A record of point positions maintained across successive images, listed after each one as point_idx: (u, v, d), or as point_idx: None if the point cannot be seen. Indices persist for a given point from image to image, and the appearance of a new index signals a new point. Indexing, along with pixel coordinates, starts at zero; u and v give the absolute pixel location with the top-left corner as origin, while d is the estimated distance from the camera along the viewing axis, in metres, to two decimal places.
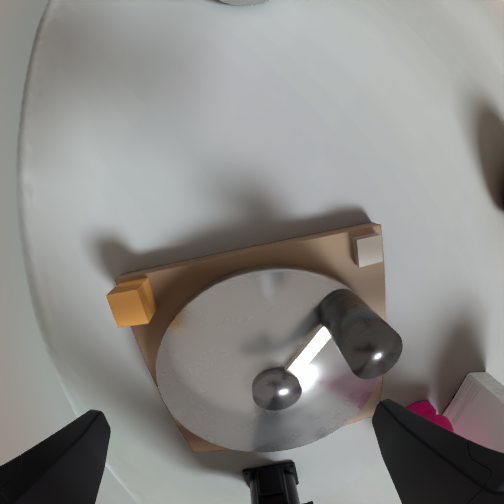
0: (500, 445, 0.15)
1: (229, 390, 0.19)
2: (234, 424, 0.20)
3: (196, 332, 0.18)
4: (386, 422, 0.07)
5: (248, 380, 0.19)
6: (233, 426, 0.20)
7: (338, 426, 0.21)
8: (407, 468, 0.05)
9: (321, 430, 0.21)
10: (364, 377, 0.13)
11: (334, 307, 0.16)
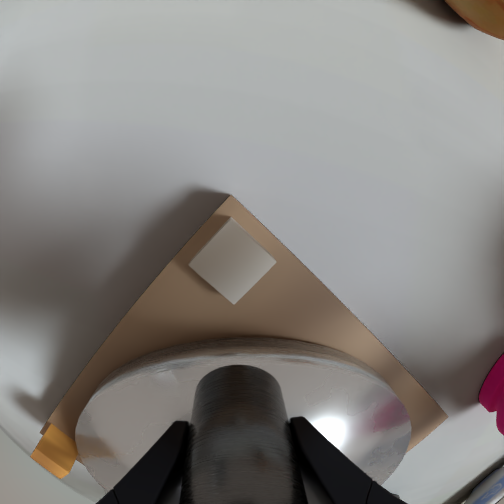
0: None
1: None
2: None
3: (109, 470, 0.10)
4: None
5: None
6: None
7: (386, 476, 0.11)
8: (308, 496, 0.05)
9: None
10: None
11: (190, 430, 0.07)
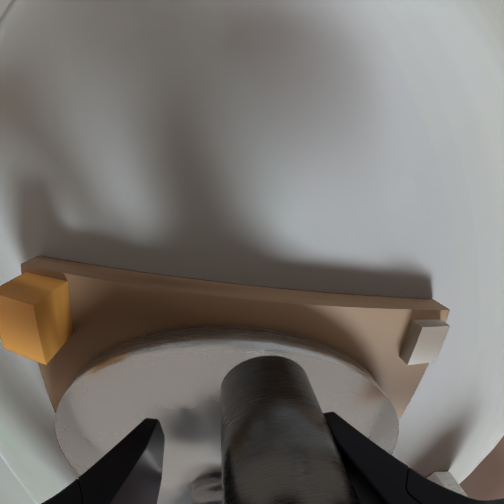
0: None
1: (173, 496, 0.10)
2: None
3: (85, 447, 0.09)
4: None
5: (186, 487, 0.10)
6: None
7: None
8: None
9: None
10: None
11: (223, 419, 0.07)
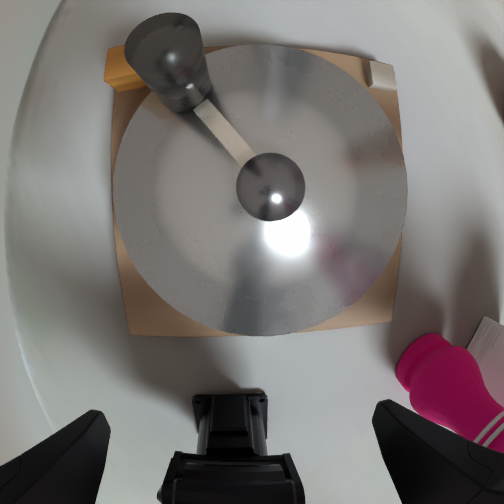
0: None
1: (255, 247, 0.16)
2: (322, 264, 0.16)
3: (158, 255, 0.16)
4: (386, 422, 0.07)
5: (246, 219, 0.15)
6: (326, 267, 0.16)
7: (390, 130, 0.15)
8: (407, 468, 0.05)
9: (386, 153, 0.15)
10: (187, 54, 0.08)
11: None
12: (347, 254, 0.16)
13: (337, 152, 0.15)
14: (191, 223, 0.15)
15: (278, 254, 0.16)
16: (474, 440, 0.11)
